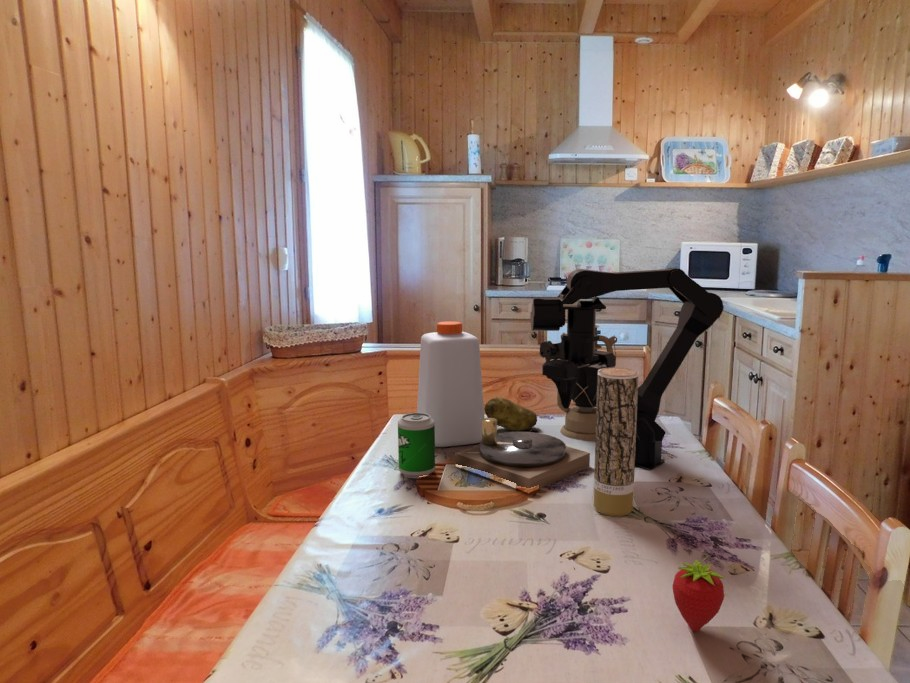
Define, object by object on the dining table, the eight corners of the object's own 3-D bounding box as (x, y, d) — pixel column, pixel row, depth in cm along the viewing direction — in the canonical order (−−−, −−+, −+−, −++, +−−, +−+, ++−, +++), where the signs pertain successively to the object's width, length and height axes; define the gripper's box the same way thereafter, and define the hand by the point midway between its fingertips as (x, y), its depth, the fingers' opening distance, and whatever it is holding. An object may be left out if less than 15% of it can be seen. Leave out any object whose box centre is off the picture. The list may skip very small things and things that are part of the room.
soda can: (437, 467, 133) (436, 412, 131) (432, 480, 126) (431, 422, 124) (402, 466, 134) (401, 411, 132) (395, 479, 127) (394, 421, 125)
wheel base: (589, 466, 133) (589, 452, 133) (529, 493, 119) (529, 478, 119) (516, 444, 147) (516, 431, 147) (455, 466, 133) (455, 452, 133)
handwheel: (567, 440, 140) (568, 412, 138) (564, 470, 122) (564, 437, 121) (486, 435, 143) (486, 408, 142) (472, 463, 126) (472, 432, 125)
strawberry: (721, 618, 80) (726, 544, 79) (721, 654, 73) (727, 574, 72) (672, 608, 82) (676, 536, 81) (668, 642, 76) (672, 564, 74)
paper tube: (634, 519, 108) (640, 376, 104) (593, 516, 110) (597, 375, 105) (631, 503, 115) (637, 368, 111) (593, 500, 116) (597, 367, 112)
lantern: (619, 429, 158) (623, 310, 153) (610, 443, 148) (615, 316, 143) (562, 422, 164) (565, 307, 159) (550, 435, 154) (552, 313, 149)
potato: (533, 436, 153) (533, 404, 152) (481, 432, 157) (481, 400, 156) (538, 426, 161) (538, 395, 160) (489, 422, 165) (489, 392, 164)
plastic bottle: (412, 431, 158) (410, 320, 153) (469, 425, 162) (469, 317, 158) (428, 450, 144) (426, 328, 139) (490, 443, 148) (491, 325, 143)
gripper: (574, 322, 143) (573, 389, 145) (521, 331, 130) (520, 405, 132) (618, 327, 135) (615, 398, 137) (566, 337, 122) (564, 415, 124)
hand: (579, 403), depth 133 cm, fingers open, 9 cm apart
